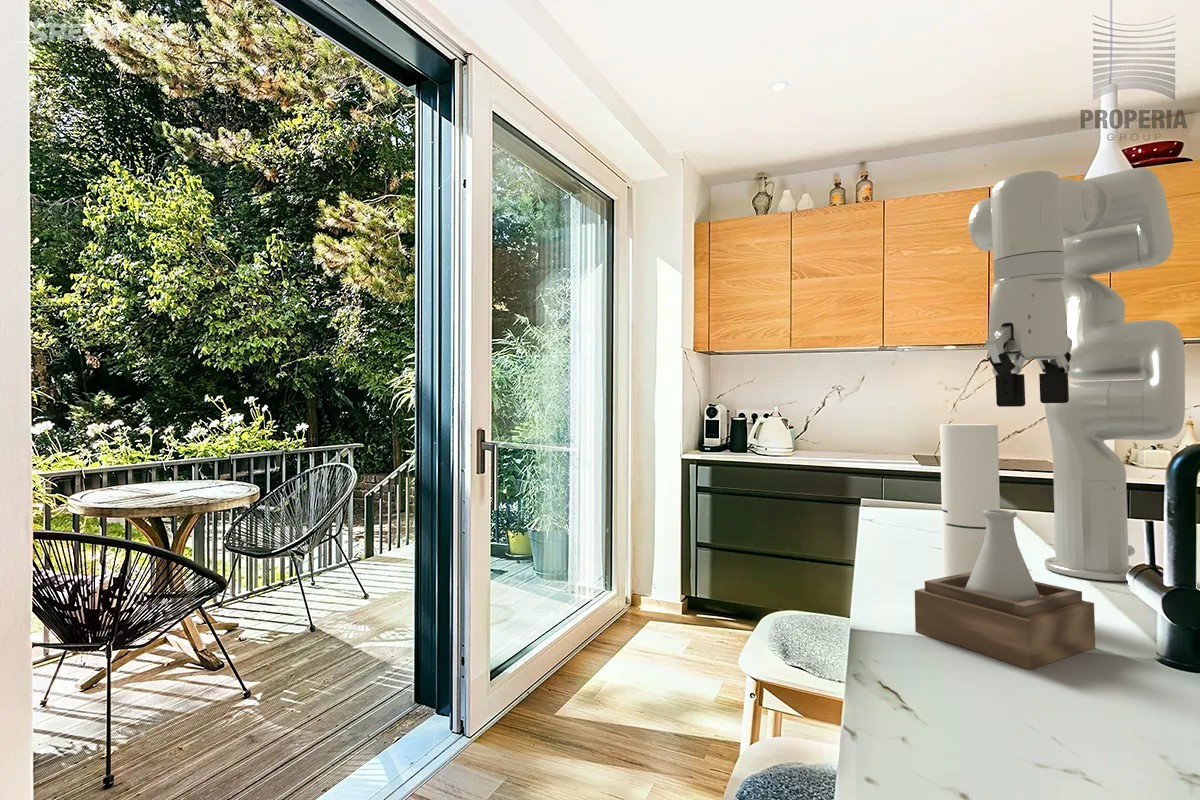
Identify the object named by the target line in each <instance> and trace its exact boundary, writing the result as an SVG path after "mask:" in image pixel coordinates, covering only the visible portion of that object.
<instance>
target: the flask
mask: <svg viewBox="0 0 1200 800" xmlns="http://www.w3.org/2000/svg"><path fill="white" fill-rule="evenodd" d="M983 514H984V516H986V532H985V538H984V543H983V546H982V548H981V551H980V554H979V556H978V559H977V561H976V564H975V566H974V569H973V571H972V573H971V576H970V578H969V580H968V583H967V585H966V588H965V589H968V590H972V591H976V592H980V593H984V594H988V595H992V596H996V597H1000V598H1004V599H1008V600H1012V601H1016V602H1023V601H1027V600H1031V599H1035V598H1040V595H1039V592H1038V590H1037V588H1036V586H1035V583H1034V581H1035V580H1034V579H1033V578H1032V575H1031V573H1030V571H1029V568H1028V566H1027V563H1026V562H1025V559H1024V557H1023V554H1022V552H1021V549H1020V547H1019V545H1018V540H1017V537H1016V533H1015V522H1014V521H1015V518H1016V517H1017V514H1018V513H1017V511H1012V510H1007V509H1000V510H999V509H989V510H984V511H983Z"/></svg>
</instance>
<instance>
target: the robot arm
mask: <svg viewBox="0 0 1200 800" xmlns="http://www.w3.org/2000/svg"><path fill="white" fill-rule="evenodd" d="M1173 232H1174V231H1173V228H1172V222H1171V217H1170V212H1169V207H1168V202H1167V197H1166V193H1165V190H1164V187H1163V185H1162V183H1161V181H1160V179H1159V178H1158V176H1157V175H1156V174H1155V173H1154V171H1152V170H1151V169H1148V168H1144V167H1136V168H1130V169H1127V170H1122V171H1117V172H1113V173H1112V172H1111V173H1109V174H1103V175H1100V176H1095V177H1091V178H1086V179H1082V180H1081V179H1080V180H1075V179H1068V178H1067V179H1066V178H1060V177H1059V175H1058V174H1056V172H1052V171H1050V170H1034V171H1027V172H1021V173H1018V174H1013V175H1011V176H1008V177H1006V178H1003V179H1002V180H999V181H998V182H997V183H996V184H995V185H994V186H993V188H992V190H991V193H990V197H987V198H983V199H981V200H979V201H978V202H977V203H975V205H974V206H973V207H972V209H971V211H970V214H969V217H968V233H969V237H970V240H971V241H972V243H973V244H974V245H975V246H976V247H977V248H978V249H979V250H981V251H983V252H991V251H992V257H993V258H992V261H993V263H992V264H993V286H992V289H991V295H990V303H989V315H988V338H987V339H986V340H985V347H986V350H987V352H988V353H987V354H988V355H989V357H988V361H989V363H990V364H991V366H992V374H993V376H995V397H996V398H995V399H996V401H995V402H996V406H997V407H1000V408H1004V407H1006V408H1008V407H1010V408H1011V407H1014V408H1015V407H1016V408H1017V407H1019V408H1021V407H1025V405H1026V387H1025V384H1026V383H1025V382H1026V381H1025V373H1021V371H1022V369H1023V367H1024V365H1025V362H1026V361H1030V360H1033V359H1035V360H1036V361H1037V363H1038V366H1039V367H1040V369H1041V371H1042V373H1039V374H1038V377H1039V401H1040V403H1042V404H1044V411H1045V416H1046V417H1045V418H1046V422H1047V426H1048V432H1049V437H1050V442H1051V452H1052V468H1053V469H1052V470H1053V471H1052V472H1053V475H1052V476H1053V503H1054V504H1053V505H1054V507H1053V508H1054V512H1053V513H1054V541H1055V542H1054V545H1055V548H1054V549H1055V552H1054V553H1055V556H1053V557H1048V558H1045V560H1044V567H1045V568H1046V569H1047V570H1050V571H1052V572H1054V573H1058V574H1060V575H1065V576H1070V577H1073V578H1081V579H1088V580H1096V581H1097V580H1098V581H1106V582H1107V581H1108V582H1127V581H1126V574H1127V572H1128V571H1129V569H1131V568H1132V567H1135V566H1133V565H1131V564H1129V559H1130V558H1129V557H1132V556H1134V554H1135V552H1136V550H1135V548H1134V547H1133V546H1132V545H1130V544H1129V532H1128V531H1129V530H1128V529H1129V527H1128V499H1127V496H1128V495H1127V471H1126V470H1127V469H1126V468H1125V464H1124V462H1123V461H1122V459H1121V458H1120V457H1119V455H1118V454H1116V452H1114V450H1112V449H1111V448H1110V447H1109V446H1108V445H1107V444H1106V443H1105V441H1109V440H1110V441H1112V440H1113V441H1114V440H1129V441H1130V440H1132V441H1135V440H1137V441H1138V440H1139V441H1148V440H1149V441H1157V440H1158V441H1161V440H1168V439H1173V438H1174V437H1177V436H1178V435H1179V434H1180V433H1181V431H1182V429H1183V427H1184V422H1185V415H1186V412H1185V409H1186V396H1185V395H1186V394H1185V393H1186V390H1185V389H1186V388H1185V387H1186V383H1185V382H1186V379H1185V378H1186V376H1185V375H1186V371H1185V369H1186V367H1185V366H1186V364H1185V363H1186V358H1185V357H1186V356H1185V344H1184V339H1183V335H1182V333H1181V331H1180V329H1179V327H1177V325H1176V324H1174V323H1173V322H1170V321H1168V320H1163V319H1161V320H1160V319H1151V320H1149V319H1147V320H1137V321H1127V322H1126V321H1125V315H1126V314H1125V311H1126V304H1125V300H1124V299H1123V298H1122V296H1121V295H1119V293H1118V292H1116V291H1115V290H1114V289H1113V288H1112V287H1110V286H1109V285H1107V284H1105V283H1104V282H1102V281H1100V280H1097V279H1096V278H1094V277H1093V275H1102V274H1111V273H1116V272H1117V273H1119V272H1125V271H1131V270H1132V271H1133V270H1138V269H1139V270H1140V269H1147V268H1152V267H1155V266H1156V267H1157V266H1158V265H1161V264H1163V263H1164V262H1166V260H1168V259H1169V257H1170V256H1171V255H1172V251H1173V249H1174V234H1173ZM1020 373H1021V374H1020ZM1069 378H1071V379H1073V380H1080V381H1077V382H1075V381H1074V382H1069Z"/></svg>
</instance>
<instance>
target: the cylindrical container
mask: <svg viewBox="0 0 1200 800" xmlns="http://www.w3.org/2000/svg"><path fill="white" fill-rule="evenodd" d="M939 441H940V442H939V443H940V446H939V447H940V448H939V449H940V485H941V487H940V488H941V489H940V490H941V491H940V492H941V497H940V498H941V530H942V531H941V534H942V535H941V536H942V537H941V538H942V572H943V574H942V576H943V577H948V576H953V575H958V574H963V573H968V572H972V571H973V569H974V566H975V564H976V561H977V559H978V556H979V554H980V551H981V548H982V546H983V543H984V538H985V532H986V516H984V514H983V511H984V510H989V509H999V510H1001V500H1000V499H1001V497H1000V496H1001V495H1000V464H999V459H1000V458H999V456H1000V455H999V454H1000V453H999V424H995V423H994V424H993V423H987V424H986V423H983V424H982V423H979V424H977V423H972V424H971V423H970V424H969V423H960V424H959V423H956V424H955V423H952V424H951V423H950V424H949V423H947V424H945V423H944V424H943V423H942V424H939ZM943 577H942V578H943Z"/></svg>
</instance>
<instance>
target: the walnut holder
mask: <svg viewBox="0 0 1200 800" xmlns="http://www.w3.org/2000/svg"><path fill="white" fill-rule="evenodd" d="M971 573H972V572H968V573H963V574H958V575H953V576H948V577H938V578H932V579H929V580H924V588H919V589H914V617H915V618H914V619H915V622H914V624H915V625H914V626H915V627H914V629H915V632H916V633H919V634H922V635H925V636H927V637H931V638H934V639H937V640H939V639H940V641H942V640H943V642H945V641H946V642H945V643H948V642H949V643H948V644H951V643H953V644H952V645H954V644H955V646H957V645H959V646H958V647H960V646H962V647H961V648H963V647H965V648H964V649H966V648H967V649H966V650H969V649H970V650H969V651H972V650H973V651H972V652H976V653H978V654H981V655H984V656H987V657H990V658H993V659H997V660H1000V661H1002V662H1005V663H1008V664H1011V665H1014V666H1017V667H1020V668H1023V669H1025V670H1029V671H1030V670H1032V669H1033V670H1034V669H1036V668H1039V667H1041V666H1045V665H1048V664H1050V663H1054V662H1056V661H1059V660H1062V659H1065V658H1068V657H1071V656H1074V655H1077V654H1080V653H1083V652H1086V651H1089V650H1093V649H1096V628H1095V627H1096V625H1095V624H1096V623H1095V620H1096V619H1095V602H1091V601H1087V600H1083V591H1081V590H1076V589H1073V588H1072V589H1071V588H1067V587H1062V586H1058V585H1055V584H1054V585H1053V584H1049V583H1044V582H1041V581H1035V580H1033V581H1034V583H1035V586H1036V588H1037V590H1038V592H1039V595H1040V598H1035V599H1031V600H1027V601H1023V602H1016V601H1012V600H1008V599H1004V598H1000V597H996V596H992V595H988V594H984V593H980V592H976V591H972V590H968V589H965V588H966V585H967V583H968V580H969V578H970V576H971Z"/></svg>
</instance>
